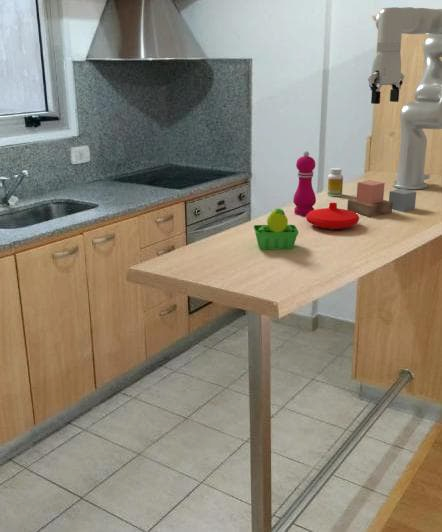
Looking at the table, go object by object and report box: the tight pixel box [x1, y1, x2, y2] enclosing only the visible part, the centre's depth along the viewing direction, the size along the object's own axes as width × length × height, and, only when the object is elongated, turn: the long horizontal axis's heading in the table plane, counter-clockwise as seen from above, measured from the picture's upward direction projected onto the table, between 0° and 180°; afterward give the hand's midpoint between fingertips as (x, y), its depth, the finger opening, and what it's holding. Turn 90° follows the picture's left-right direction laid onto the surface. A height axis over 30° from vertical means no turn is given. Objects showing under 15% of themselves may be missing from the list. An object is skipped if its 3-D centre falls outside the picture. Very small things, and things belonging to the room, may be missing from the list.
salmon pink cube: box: [355, 179, 386, 204], centre depth 193 cm, size 6×6×6 cm
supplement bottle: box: [326, 167, 344, 197], centre depth 217 cm, size 5×5×10 cm
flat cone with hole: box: [305, 202, 360, 230], centre depth 179 cm, size 16×16×7 cm
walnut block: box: [346, 198, 393, 218], centre depth 195 cm, size 10×10×4 cm
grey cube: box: [388, 188, 417, 213], centre depth 198 cm, size 6×6×6 cm
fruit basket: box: [252, 207, 299, 250], centre depth 159 cm, size 11×9×11 cm
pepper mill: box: [292, 151, 317, 217], centre depth 191 cm, size 7×7×20 cm
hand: (384, 102), depth 202 cm, fingers open, 9 cm apart
